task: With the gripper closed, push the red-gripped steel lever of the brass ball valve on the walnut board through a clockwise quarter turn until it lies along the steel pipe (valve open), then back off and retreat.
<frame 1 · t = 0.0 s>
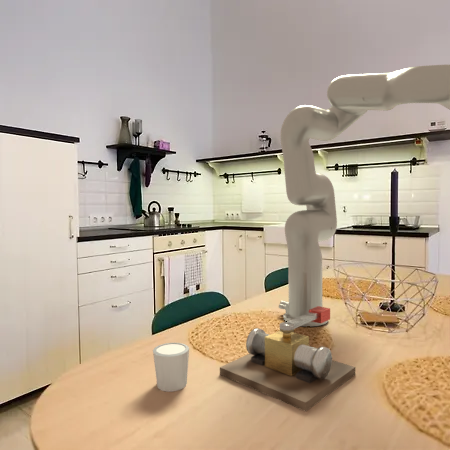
valve pipe: (286, 349, 76), on the valve board, point 5 cm above the table
valve lever: (304, 321, 81), point 9 cm above the table, hinge at 0.0°
valve board: (287, 374, 77), on the table
white cup: (172, 385, 74), on the table
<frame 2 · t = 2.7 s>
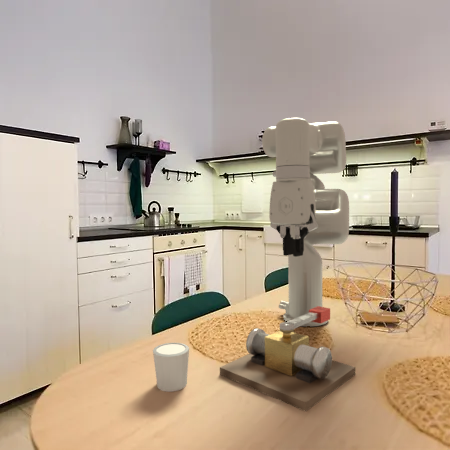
hand: (293, 254, 88), 22 cm above the table, fingers closed
nothing on the table moved.
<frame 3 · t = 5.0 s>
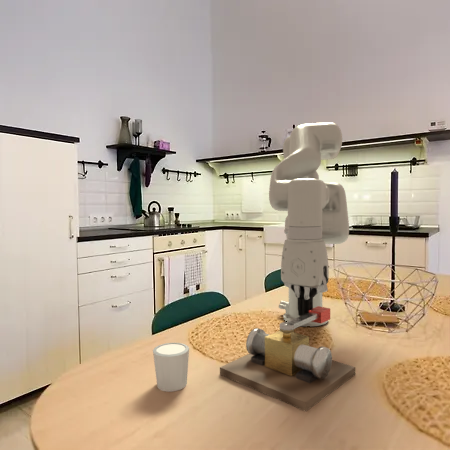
hand: (305, 314, 87), 9 cm above the table, fingers closed
valve lever: (304, 321, 81), point 9 cm above the table, hinge at -0.2°, touching gripper
everything else where it was.
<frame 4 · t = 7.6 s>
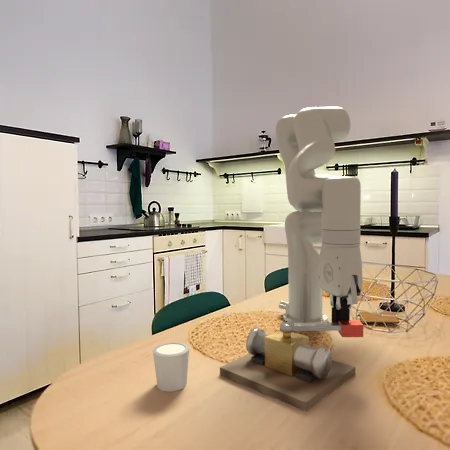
hand: (340, 326, 79), 9 cm above the table, fingers closed
valve lever: (320, 328, 76), point 9 cm above the table, hinge at -47.9°, touching gripper
everything else where it was.
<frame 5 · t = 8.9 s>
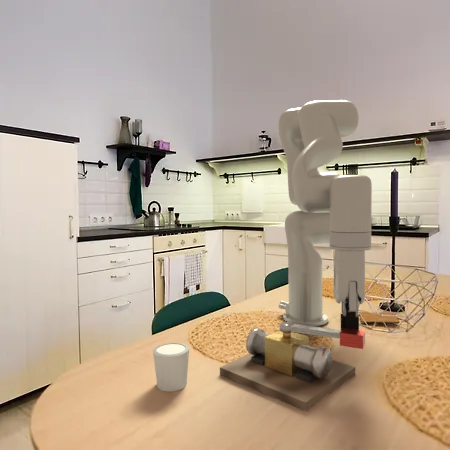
hand: (349, 335, 74), 9 cm above the table, fingers closed
valve lever: (319, 333, 73), point 9 cm above the table, hinge at -72.7°, touching gripper
everything else where it was.
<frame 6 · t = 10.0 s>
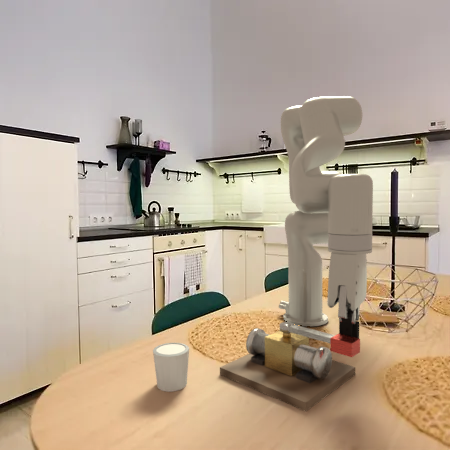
hand: (349, 342, 70), 9 cm above the table, fingers closed
valve lever: (315, 336, 71), point 9 cm above the table, hinge at -91.2°, touching gripper
everything else where it was.
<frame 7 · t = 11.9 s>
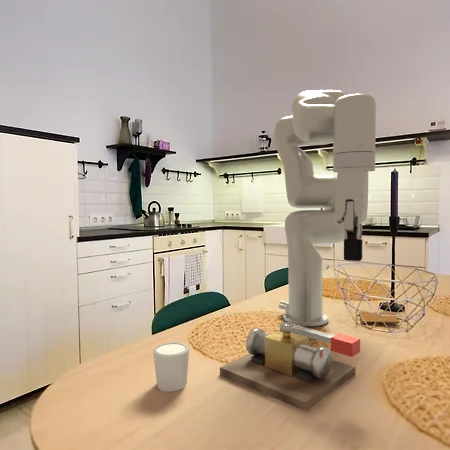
hand: (353, 259, 74), 23 cm above the table, fingers closed
valve lever: (315, 336, 71), point 9 cm above the table, hinge at -90.7°
everything else where it was.
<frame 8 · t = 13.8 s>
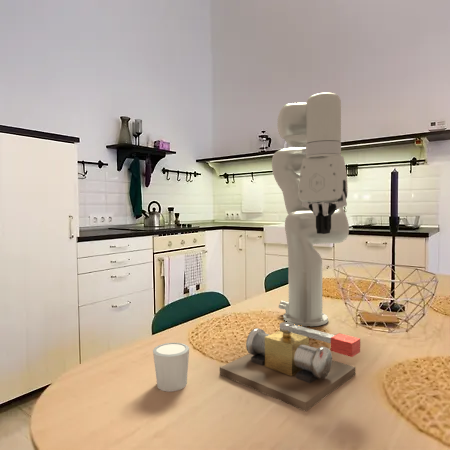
hand: (323, 233, 87), 27 cm above the table, fingers closed
nothing on the table moved.
at the end: valve lever at -91° (first picture: +0°); white cup moved 0.2 cm from its start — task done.
